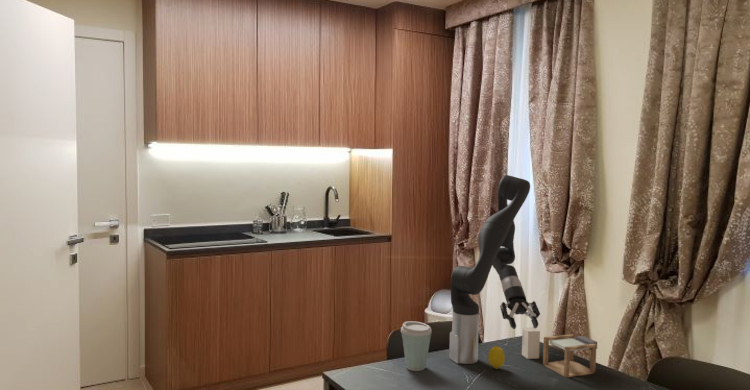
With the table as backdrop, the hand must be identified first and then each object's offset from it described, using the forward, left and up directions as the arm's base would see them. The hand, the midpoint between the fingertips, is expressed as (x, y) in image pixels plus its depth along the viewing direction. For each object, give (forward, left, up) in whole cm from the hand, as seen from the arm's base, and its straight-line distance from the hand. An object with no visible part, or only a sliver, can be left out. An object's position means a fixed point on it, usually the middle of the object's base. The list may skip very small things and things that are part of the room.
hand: (525, 327), depth 199 cm
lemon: (-20, -12, -9) cm, 25 cm away
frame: (+4, -19, -9) cm, 22 cm away
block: (-1, -5, -9) cm, 10 cm away
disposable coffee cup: (-46, -2, -9) cm, 47 cm away
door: (+6, -19, -2) cm, 20 cm away
